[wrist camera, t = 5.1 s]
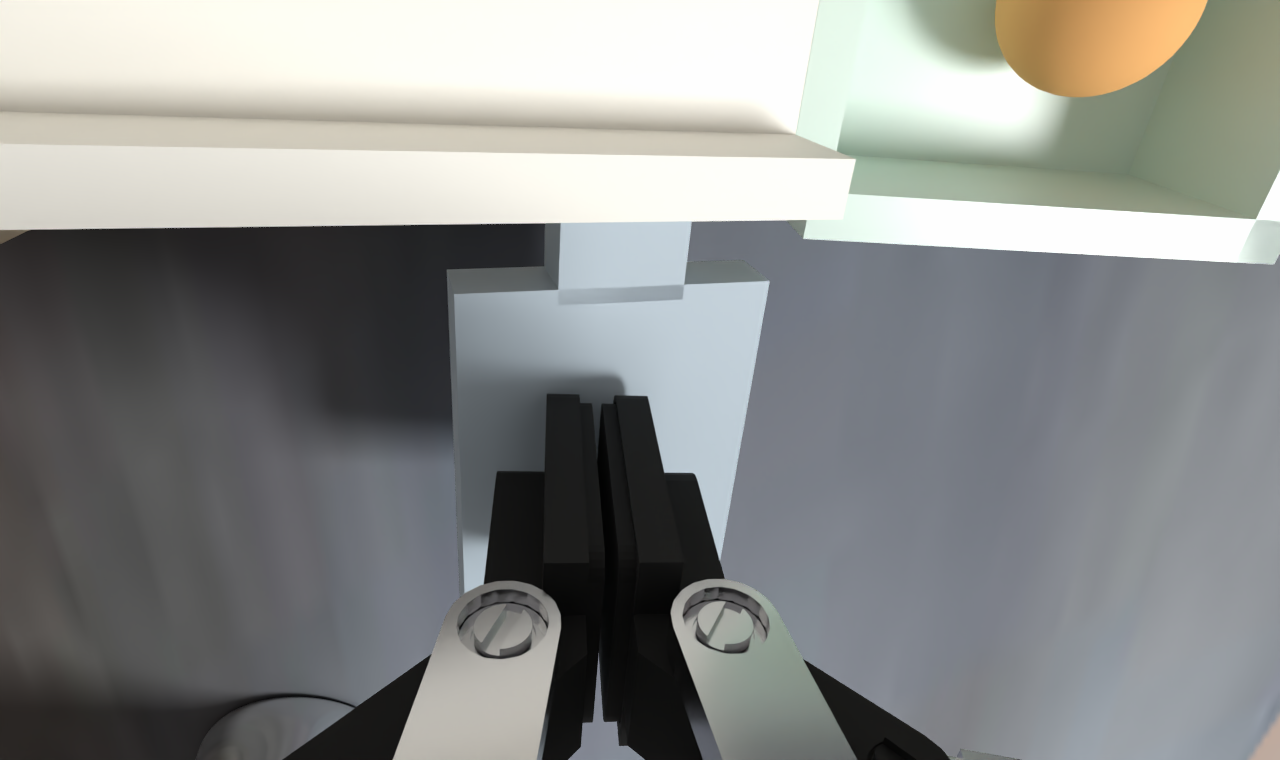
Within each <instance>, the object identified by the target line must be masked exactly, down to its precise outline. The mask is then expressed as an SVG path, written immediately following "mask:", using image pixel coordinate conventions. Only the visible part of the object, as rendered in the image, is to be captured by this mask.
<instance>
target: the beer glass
mask: <svg viewBox="0 0 1280 760" xmlns="http://www.w3.org/2000/svg"><path fill="white" fill-rule="evenodd" d="M353 709H355V708H354V707H351V706H348V705H346V704H343V703H339V702H335V701H331V700H326V699H320V698H312V697H280V698H272V699H266V700H262V701H258V702H254V703H251V704H248V705H245V706H243V707H240V708H238V709H236V710H234V711H232V712H230V713H229V714H227V715H225V716H224V717H223V718H221V719H220V720H219V721H218V722H217V723H215V724H214V726H213V727H212V728H211V729H210V730H209V732H208V733H207V734H206V736H205V737H204V739H203V741H202V743H201V746H200V748H199V751H198V753H197V757H196V760H282V759H284V758H285V757H287V756H288V755H290V754H291V753H292V752H294V751H295V750H297V749H298V748H299V747H301V746H302V745H304V744H305V743H306V742H308V741H309V740H311V739H312V738H314V737H315V736H316V735H318V734H319V733H321V732H322V731H323V730H325V729H326V728H328V727H329V726H331V725H332V724H333V723H335V722H336V721H338V720H339V719H340V718H342V717H343V716H345V715H346V714H348V713H349V712H350V711H352V710H353Z"/></svg>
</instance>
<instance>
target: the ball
mask: <svg viewBox="0 0 1280 760" xmlns="http://www.w3.org/2000/svg"><path fill="white" fill-rule="evenodd" d="M1207 1H1208V0H996V8H995V29H996V36H997V40H998V44H999V46H1000V49H1001V51H1002V54H1003V56H1004V58H1005V59H1006V61H1007V63H1008V64H1009V66H1010V67H1011V68H1012V69H1013V70H1014V72H1015V73H1016V74H1017V75H1018V76H1019V77H1020V78H1022V79H1023V80H1024V81H1025V82H1027V83H1028V84H1030V85H1032V86H1034V87H1035V88H1037V89H1039V90H1042V91H1045V92H1048V93H1051V94H1054V95H1059V96H1065V97H1091V96H1097V95H1103V94H1106V93H1110V92H1113V91H1117V90H1120V89H1122V88H1125V87H1127V86H1129V85H1131V84H1133V83H1136V82H1138V81H1139V80H1141V79H1143V78H1145V77H1146V76H1148V75H1149V74H1151V73H1152V72H1153V71H1155V70H1156V69H1158V68H1159V67H1160V66H1162V65H1163V64H1164V63H1165V62H1166V61H1167V60H1169V59H1170V58H1171V57H1172V56H1173V55H1174V54H1175V53H1176V52H1177V51H1178V49H1179V48H1180V47H1181V46H1182V45H1183V44H1184V42H1185V41H1186V40H1187V39H1188V37H1189V36H1190V34H1191V33H1192V31H1193V30H1194V28H1195V27H1196V25H1197V23H1198V21H1199V20H1200V18H1201V16H1202V13H1203V11H1204V9H1205V6H1206V4H1207Z"/></svg>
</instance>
